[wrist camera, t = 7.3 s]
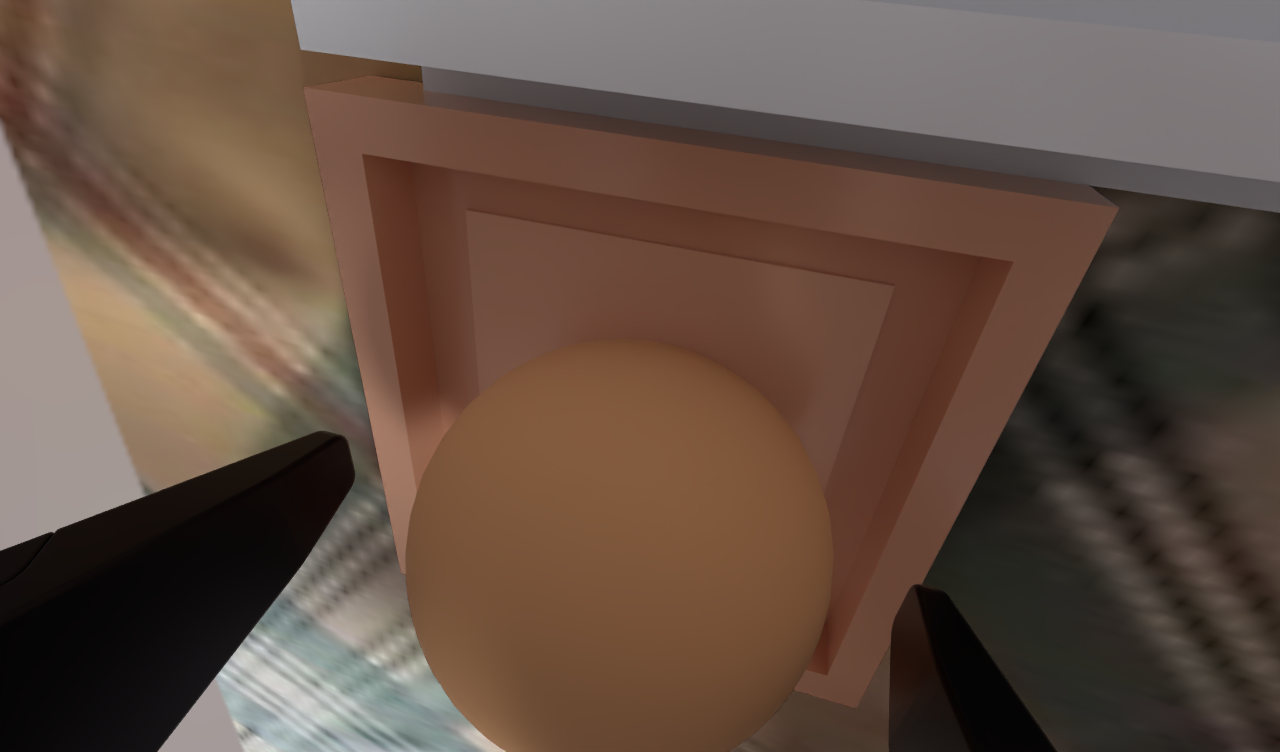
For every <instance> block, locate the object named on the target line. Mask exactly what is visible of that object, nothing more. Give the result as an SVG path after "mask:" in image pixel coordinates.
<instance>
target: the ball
mask: <svg viewBox="0 0 1280 752" xmlns="http://www.w3.org/2000/svg"><path fill="white" fill-rule="evenodd" d="M833 562H834V554H833V543H832V533H831V524H830V515H829V511H828V508H827V504H826V501H825V497H824V494H823V490H822V487H821V484H820V481H819V477H818V474H817V472H816V470H815V468H814V466H813V464H812V463H811V461H810V459H809V457H808V455H807V453H806V451H805V449H804V447H803V445H802V443H801V441H800V439H799V437H798V436H797V435H796V433H795V432H794V431H793V429H792V428H791V426H790V425H789V424H788V422H787V421H786V420H785V418H784V417H783V416H782V415H781V414H780V412H779V411H778V410H777V409H776V408H775V407H774V406H773V405H772V404H771V403H770V402H769V400H768V399H767V398H766V397H765V396H764V395H763V394H762V393H761V392H759V391H758V390H757V389H756V388H754V387H753V386H752V385H751V384H749V383H748V382H747V381H746V380H744V379H743V378H742V377H740V376H738V375H737V374H735V373H734V372H732V371H730V370H729V369H727V368H726V367H724V366H722V365H721V364H719V363H717V362H716V361H713V360H711V359H709V358H707V357H705V356H702V355H700V354H698V353H696V352H693V351H690V350H687V349H684V348H680V347H677V346H674V345H670V344H665V343H660V342H655V341H650V340H638V339H603V340H597V341H591V342H584V343H579V344H573V345H570V346H566V347H563V348H559V349H556V350H552V351H549V352H547V353H545V354H543V355H540V356H538V357H536V358H534V359H531V360H529V361H527V362H525V363H524V364H522V365H520V366H518V367H516V368H515V369H513V370H511V371H510V372H508V373H507V374H505V375H503V376H502V377H500V378H499V379H497V380H496V381H495V382H494V383H493V384H492V385H490V386H489V387H488V388H487V389H486V390H485V391H483V392H482V393H481V394H480V395H479V396H478V397H477V398H475V399H474V400H473V401H472V402H471V403H470V404H469V405H468V406H467V407H466V408H465V410H464V411H463V412H462V413H461V414H460V416H459V417H458V418H457V419H456V421H455V422H454V423H453V424H452V426H451V427H450V428H449V430H448V431H447V432H446V433H445V435H444V436H443V437H442V439H441V441H440V443H439V445H438V447H437V448H436V450H435V452H434V454H433V456H432V458H431V460H430V462H429V464H428V465H427V467H426V469H425V471H424V473H423V476H422V479H421V482H420V485H419V488H418V491H417V495H416V498H415V501H414V504H413V507H412V511H411V514H410V521H409V528H408V535H407V544H406V554H405V563H406V585H407V595H408V601H409V606H410V611H411V616H412V621H413V624H414V628H415V631H416V634H417V638H418V640H419V643H420V645H421V648H422V650H423V653H424V655H425V657H426V660H427V662H428V664H429V666H430V668H431V670H432V672H433V674H434V676H435V677H436V679H437V680H438V682H439V683H440V685H441V686H442V688H443V690H444V691H445V693H446V694H447V696H448V697H449V699H450V700H451V701H452V703H453V704H454V706H455V707H456V708H457V709H458V710H459V711H460V712H461V713H462V714H463V715H464V717H465V718H466V719H467V720H468V721H469V722H470V723H471V724H472V725H473V726H474V727H475V728H476V729H477V730H478V731H480V732H481V733H482V734H483V735H484V736H485V737H486V738H487V739H489V740H490V741H491V742H493V743H494V744H496V745H497V746H498V747H500V748H501V749H503V750H505V751H506V752H729V751H731V750H732V749H734V748H735V747H737V746H738V745H740V744H741V743H743V742H744V741H746V740H747V739H748V738H749V737H751V736H752V735H753V734H754V733H755V732H756V731H758V730H759V729H760V728H761V727H762V726H763V725H764V724H765V723H766V722H767V721H768V720H769V719H770V718H771V717H772V716H773V715H774V714H775V713H776V712H777V710H778V709H779V708H780V707H781V706H782V704H783V703H784V702H785V701H786V699H787V698H788V696H789V695H790V694H791V692H792V691H793V689H794V688H795V686H796V685H797V684H798V682H799V681H800V679H801V677H802V675H803V673H804V672H805V670H806V668H807V666H808V664H809V662H810V660H811V658H812V655H813V653H814V651H815V649H816V647H817V645H818V642H819V639H820V636H821V633H822V629H823V626H824V622H825V618H826V615H827V611H828V607H829V603H830V597H831V585H832V574H833Z"/></svg>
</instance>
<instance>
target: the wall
mask: <svg viewBox="0 0 1280 752" xmlns="http://www.w3.org/2000/svg"><path fill="white" fill-rule="evenodd" d="M291 4H292V9H293V14H294V19H295V24H296V30H297V35H298V40H299V45H300V50H307V51H314V52H322V53H329V54H337V55H344V56H351V57H359V58H366V59H374V60H381V61H388V62H396V63H403V64H411V65H418V66H421V69H422V79H423V89H424V91H431V92H438V93H445V94H452V95H459V96H466V97H473V98H480V99H487V100H494V101H501V102H508V103H515V104H522V105H529V106H536V107H543V108H550V109H557V110H564V111H571V112H578V113H585V114H592V115H599V116H606V117H613V118H620V119H627V120H634V121H641V122H648V123H655V124H662V125H669V126H676V127H683V128H690V129H697V130H704V131H711V132H718V133H725V134H732V135H739V136H746V137H753V138H760V139H767V140H774V141H781V142H788V143H795V144H802V145H809V146H816V147H823V148H830V149H837V150H844V151H851V152H858V153H865V154H872V155H879V156H886V157H893V158H900V159H907V160H914V161H921V162H928V163H935V164H942V165H949V166H956V167H963V168H970V169H977V170H984V171H991V172H998V173H1005V174H1012V175H1019V176H1026V177H1033V178H1040V179H1047V180H1054V181H1061V182H1068V183H1075V184H1082V185H1089V186H1096V187H1103V188H1110V189H1117V190H1124V191H1131V192H1138V193H1145V194H1152V195H1159V196H1166V197H1173V198H1180V199H1187V200H1194V201H1201V202H1208V203H1215V204H1222V205H1229V206H1236V207H1243V208H1250V209H1257V210H1264V211H1271V212H1278V213H1280V0H291Z"/></svg>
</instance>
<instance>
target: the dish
mask: <svg viewBox="0 0 1280 752" xmlns="http://www.w3.org/2000/svg"><path fill="white" fill-rule="evenodd" d="M303 91H304V96H305V100H306V105H307V110H308V115H309V120H310V125H311V130H312V135H313V140H314V145H315V150H316V155H317V160H318V165H319V170H320V175H321V180H322V185H323V190H324V195H325V199H326V204H327V209H328V214H329V219H330V224H331V229H332V234H333V239H334V244H335V249H336V254H337V259H338V264H339V269H340V274H341V279H342V284H343V289H344V293H345V298H346V303H347V308H348V313H349V318H350V323H351V328H352V333H353V338H354V343H355V348H356V353H357V358H358V363H359V368H360V373H361V378H362V383H363V388H364V392H365V397H366V402H367V407H368V412H369V417H370V422H371V427H372V432H373V437H374V442H375V447H376V452H377V457H378V462H379V467H380V472H381V477H382V482H383V486H384V491H385V496H386V501H387V506H388V511H389V516H390V521H391V526H392V531H393V536H394V541H395V546H396V551H397V556H398V561H399V566H400V571H401V574H404V575H406V563H405V554H406V544H407V535H408V528H409V521H410V514H411V511H412V507H413V504H414V501H415V498H416V495H417V491H418V488H419V485H420V482H421V479H422V476H423V473H424V471H425V469H426V467H427V465H428V464H429V462H430V460H431V458H432V456H433V454H434V452H435V450H436V448H437V447H438V445H439V443H440V441H441V439H442V437H443V436H444V435H445V433H446V432H447V431H448V430H449V428H450V427H451V426H452V424H453V423H454V422H455V421H456V419H457V418H458V417H459V416H460V414H461V413H462V412H463V411H464V410H465V408H466V407H467V406H468V405H469V404H470V403H471V402H472V401H473V400H474V399H475V398H477V397H478V396H479V395H480V394H481V393H482V392H483V391H485V390H486V389H487V388H488V387H489V386H490V385H492V384H493V383H494V382H495V381H496V380H497V379H499V378H500V377H502V376H503V375H505V374H507V373H508V372H510V371H511V370H513V369H515V368H516V367H518V366H520V365H522V364H524V363H525V362H527V361H529V360H531V359H534V358H536V357H538V356H540V355H543V354H545V353H547V352H549V351H552V350H556V349H559V348H563V347H566V346H570V345H573V344H579V343H584V342H591V341H597V340H603V339H638V340H650V341H655V342H660V343H665V344H670V345H674V346H677V347H680V348H684V349H687V350H690V351H693V352H696V353H698V354H700V355H702V356H705V357H707V358H709V359H711V360H713V361H716V362H717V363H719V364H721V365H722V366H724V367H726V368H727V369H729V370H730V371H732V372H734V373H735V374H737V375H738V376H740V377H742V378H743V379H744V380H746V381H747V382H748V383H749V384H751V385H752V386H753V387H754V388H756V389H757V390H758V391H759V392H761V393H762V394H763V395H764V396H765V397H766V398H767V399H768V400H769V402H770V403H771V404H772V405H773V406H774V407H775V408H776V409H777V410H778V411H779V412H780V414H781V415H782V416H783V417H784V418H785V420H786V421H787V422H788V424H789V425H790V426H791V428H792V429H793V431H794V432H795V433H796V435H797V436H798V437H799V439H800V441H801V443H802V445H803V447H804V449H805V451H806V453H807V455H808V457H809V459H810V461H811V463H812V464H813V466H814V468H815V470H816V472H817V474H818V477H819V481H820V484H821V487H822V490H823V494H824V497H825V501H826V504H827V508H828V511H829V515H830V524H831V533H832V543H833V554H834V562H833V574H832V585H831V597H830V603H829V607H828V611H827V615H826V618H825V622H824V626H823V629H822V633H821V636H820V639H819V642H818V645H817V647H816V649H815V651H814V653H813V655H812V658H811V660H810V662H809V664H808V666H807V668H806V670H805V672H804V673H803V675H802V677H801V679H800V681H799V682H798V684H797V685H796V686H795V688H794V689H793V690H795V691H798V692H802V693H805V694H808V695H812V696H815V697H818V698H822V699H825V700H829V701H832V702H835V703H839V704H842V705H845V706H849V707H852V708H855V709H856V708H857V706H858V704H859V702H860V701H861V699H862V697H863V695H864V693H865V691H866V689H867V687H868V685H869V683H870V682H871V680H872V678H873V676H874V674H875V672H876V670H877V668H878V666H879V664H880V663H881V661H882V659H883V657H884V655H885V653H886V651H887V649H888V647H889V645H890V644H891V630H892V625H893V621H894V618H895V616H896V614H897V612H898V610H899V608H900V606H901V604H902V602H903V600H904V598H905V596H906V594H907V592H908V590H909V589H910V587H911V586H913V585H914V584H920V585H922V583H923V581H924V579H925V577H926V575H927V573H928V571H929V569H930V568H931V566H932V564H933V562H934V560H935V558H936V556H937V554H938V552H939V550H940V549H941V547H942V545H943V543H944V541H945V539H946V537H947V535H948V533H949V531H950V530H951V528H952V526H953V524H954V522H955V520H956V518H957V516H958V514H959V512H960V511H961V509H962V507H963V505H964V503H965V501H966V499H967V497H968V495H969V493H970V492H971V490H972V488H973V486H974V484H975V482H976V480H977V478H978V476H979V474H980V473H981V471H982V469H983V467H984V465H985V463H986V461H987V459H988V457H989V455H990V454H991V452H992V450H993V448H994V446H995V444H996V442H997V440H998V438H999V436H1000V435H1001V433H1002V431H1003V429H1004V427H1005V425H1006V423H1007V421H1008V419H1009V417H1010V416H1011V414H1012V412H1013V410H1014V408H1015V406H1016V404H1017V402H1018V400H1019V398H1020V397H1021V395H1022V393H1023V391H1024V389H1025V387H1026V385H1027V383H1028V381H1029V379H1030V378H1031V376H1032V374H1033V372H1034V370H1035V368H1036V366H1037V364H1038V362H1039V360H1040V359H1041V357H1042V355H1043V353H1044V351H1045V349H1046V347H1047V345H1048V343H1049V341H1050V340H1051V338H1052V336H1053V334H1054V332H1055V330H1056V328H1057V326H1058V324H1059V322H1060V321H1061V319H1062V317H1063V315H1064V313H1065V311H1066V309H1067V307H1068V305H1069V303H1070V302H1071V300H1072V298H1073V296H1074V294H1075V292H1076V290H1077V288H1078V286H1079V284H1080V283H1081V281H1082V279H1083V277H1084V275H1085V273H1086V271H1087V269H1088V267H1089V265H1090V264H1091V262H1092V260H1093V258H1094V256H1095V254H1096V252H1097V250H1098V248H1099V246H1100V245H1101V243H1102V241H1103V239H1104V237H1105V235H1106V233H1107V231H1108V229H1109V227H1110V226H1111V224H1112V222H1113V220H1114V218H1115V216H1116V214H1117V212H1118V210H1119V207H1118V206H1116V205H1115V204H1114V203H1112V202H1111V201H1109V200H1108V199H1107V198H1105V197H1104V196H1102V195H1101V194H1100V193H1098V192H1097V191H1096V190H1094V189H1093V188H1091V187H1090V186H1089V185H1082V184H1075V183H1068V182H1061V181H1054V180H1047V179H1040V178H1033V177H1026V176H1019V175H1012V174H1005V173H998V172H991V171H984V170H977V169H970V168H963V167H956V166H949V165H942V164H935V163H928V162H921V161H914V160H907V159H900V158H893V157H886V156H879V155H872V154H865V153H858V152H851V151H844V150H837V149H830V148H823V147H816V146H809V145H802V144H795V143H788V142H781V141H774V140H767V139H760V138H753V137H746V136H739V135H732V134H725V133H718V132H711V131H704V130H697V129H690V128H683V127H676V126H669V125H662V124H655V123H648V122H641V121H634V120H627V119H620V118H613V117H606V116H599V115H592V114H585V113H578V112H571V111H564V110H557V109H550V108H543V107H536V106H529V105H522V104H515V103H508V102H501V101H494V100H487V99H480V98H473V97H466V96H459V95H452V94H445V93H438V92H431V91H424V89H423V83H421V82H414V81H407V80H400V79H393V78H386V77H379V76H367V77H361V78H355V79H350V80H344V81H338V82H332V83H326V84H320V85H314V86H308V87H303Z"/></svg>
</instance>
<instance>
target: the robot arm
mask: <svg viewBox="0 0 1280 752" xmlns="http://www.w3.org/2000/svg"><path fill="white" fill-rule="evenodd" d="M354 478H355V469H354V465H353V461H352V457H351V452H350V448H349V444H348V441H347V439H346V438H345V437H344V436H342V435H339V434H335V433H331V432H327V431H318V432H314V433H312V434H309V435H307V436H304V437H301V438H299V439H296V440H293V441H291V442H288V443H285V444H283V445H280V446H277V447H275V448H272V449H269V450H267V451H264V452H262V453H259V454H256V455H254V456H251V457H248V458H246V459H243V460H240V461H238V462H235V463H232V464H230V465H227V466H224V467H222V468H219V469H216V470H214V471H211V472H208V473H206V474H203V475H201V476H198V477H195V478H193V479H190V480H187V481H185V482H182V483H179V484H177V485H174V486H171V487H169V488H166V489H163V490H161V491H158V492H155V493H153V494H150V495H147V496H145V497H142V498H140V499H137V500H135V501H132V502H129V503H126V504H124V505H121V506H118V507H116V508H113V509H110V510H108V511H105V512H102V513H100V514H97V515H95V516H92V517H89V518H87V519H84V520H81V521H79V522H76V523H73V524H71V525H68V526H65V527H63V528H60V529H58V530H57V531H56V532H55V533H53V532H49V533H46V534H44V535H41V536H39V537H36V538H34V539H31V540H28V541H25V542H23V543H20V544H18V545H15V546H12V547H10V548H7V549H4V550H1V551H0V752H158V750H159V749H160V748H161V746H162V745H163V744H164V743H165V741H166V740H167V739H168V737H169V736H170V735H171V734H172V732H173V731H174V730H175V729H176V727H177V726H178V725H179V723H180V722H181V721H182V719H183V718H184V717H185V716H186V714H187V713H188V712H189V710H190V709H191V708H192V706H193V705H194V704H195V703H196V701H197V700H198V699H199V697H200V696H201V695H202V694H203V692H204V691H205V690H206V688H207V687H208V686H209V685H210V683H211V682H212V681H213V680H214V678H215V677H216V676H217V674H218V673H219V672H220V671H221V669H222V668H223V667H224V665H225V664H226V663H227V661H228V660H229V659H230V658H231V656H232V655H233V654H234V652H235V651H236V650H237V649H238V647H239V646H240V645H241V643H242V642H243V641H244V640H245V638H246V637H247V636H248V634H249V633H250V632H251V631H252V629H253V628H254V627H255V625H256V624H257V623H258V622H259V620H260V619H261V618H262V616H263V615H264V614H265V612H266V611H267V610H268V609H269V607H270V606H271V605H272V603H273V602H274V601H275V600H276V598H277V597H278V596H279V594H280V593H281V592H282V591H283V589H284V588H285V587H286V585H287V584H288V583H289V582H290V580H291V579H292V578H293V576H294V575H295V574H296V572H297V571H298V570H299V568H300V567H301V565H302V564H303V563H304V561H305V560H306V558H307V557H308V555H309V554H310V552H311V551H312V549H313V547H314V546H315V544H316V543H317V541H318V540H319V538H320V536H321V535H322V533H323V532H324V530H325V528H326V527H327V525H328V524H329V522H330V521H331V519H332V517H333V516H334V514H335V513H336V511H337V509H338V508H339V506H340V505H341V503H342V501H343V500H344V498H345V497H346V495H347V494H348V492H349V490H350V489H351V487H352V485H353V482H354ZM889 752H1057V750H1056V749H1055V747H1054V746H1053V745H1052V743H1051V742H1050V740H1049V739H1048V737H1047V736H1046V735H1045V733H1044V732H1043V730H1042V729H1041V727H1040V726H1039V725H1038V723H1037V722H1036V720H1035V719H1034V717H1033V716H1032V714H1031V713H1030V712H1029V710H1028V709H1027V707H1026V706H1025V704H1024V703H1023V702H1022V700H1021V699H1020V697H1019V696H1018V694H1017V693H1016V692H1015V690H1014V689H1013V687H1012V686H1011V684H1010V683H1009V682H1008V680H1007V679H1006V677H1005V676H1004V674H1003V673H1002V671H1001V670H1000V669H999V667H998V666H997V664H996V663H995V661H994V660H993V659H992V657H991V656H990V654H989V653H988V651H987V650H986V649H985V647H984V646H983V644H982V643H981V641H980V640H979V639H978V637H977V636H976V634H975V633H974V631H973V630H972V629H971V627H970V626H969V624H968V623H967V621H966V620H965V618H964V617H963V616H962V614H961V613H960V611H959V610H958V608H957V607H956V606H955V604H954V603H953V601H952V600H951V598H950V597H949V596H948V595H947V594H946V593H945V592H944V591H942V590H940V589H936V588H932V587H928V586H924V585H920V584H914V585H913V586H911V587H910V589H909V590H908V592H907V594H906V596H905V598H904V600H903V602H902V604H901V606H900V608H899V610H898V612H897V614H896V616H895V618H894V621H893V625H892V630H891V654H890V692H889Z"/></svg>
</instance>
